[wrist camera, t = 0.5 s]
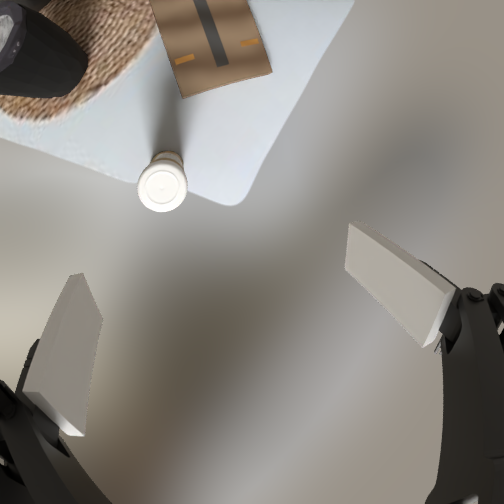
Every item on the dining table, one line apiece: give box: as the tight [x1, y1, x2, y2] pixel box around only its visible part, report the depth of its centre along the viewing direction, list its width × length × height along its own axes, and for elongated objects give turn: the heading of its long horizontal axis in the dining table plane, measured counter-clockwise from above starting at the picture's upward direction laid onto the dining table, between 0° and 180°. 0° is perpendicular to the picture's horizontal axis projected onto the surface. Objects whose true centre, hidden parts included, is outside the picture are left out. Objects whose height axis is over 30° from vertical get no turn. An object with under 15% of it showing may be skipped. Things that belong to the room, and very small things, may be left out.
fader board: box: [149, 0, 272, 99], centre depth 24 cm, size 22×12×2 cm, turn 17°
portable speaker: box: [0, 0, 88, 98], centre depth 14 cm, size 9×9×20 cm
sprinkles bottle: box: [137, 151, 188, 212], centre depth 28 cm, size 5×5×13 cm
